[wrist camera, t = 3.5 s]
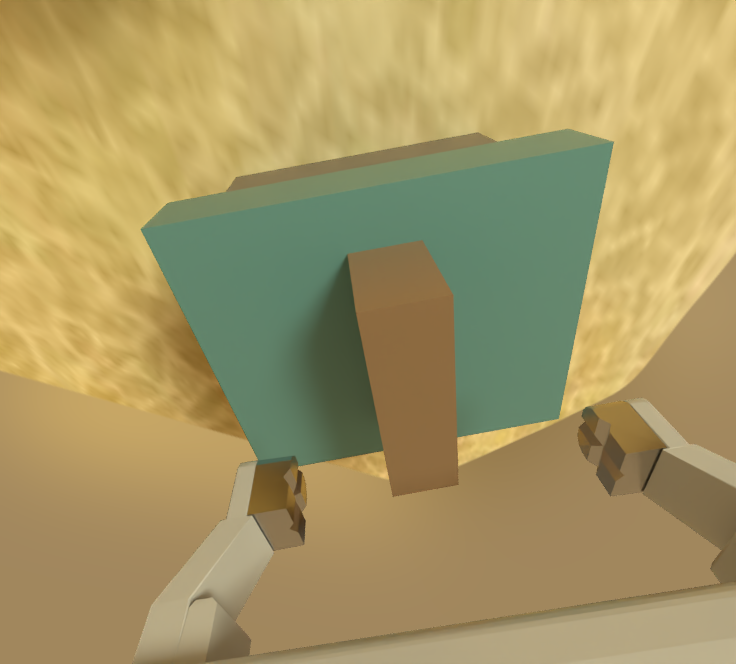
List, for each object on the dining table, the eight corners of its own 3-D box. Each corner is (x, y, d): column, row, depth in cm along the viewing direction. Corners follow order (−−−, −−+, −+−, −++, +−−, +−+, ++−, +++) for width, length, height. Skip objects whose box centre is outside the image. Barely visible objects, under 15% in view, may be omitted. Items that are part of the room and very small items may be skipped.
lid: (269, 430, 20) (254, 549, 15) (168, 203, 13) (80, 287, 8) (534, 382, 20) (603, 486, 15) (568, 128, 13) (713, 170, 8)
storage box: (290, 339, 25) (280, 439, 18) (236, 177, 19) (193, 239, 13) (475, 305, 25) (531, 393, 18) (478, 132, 19) (560, 171, 13)
